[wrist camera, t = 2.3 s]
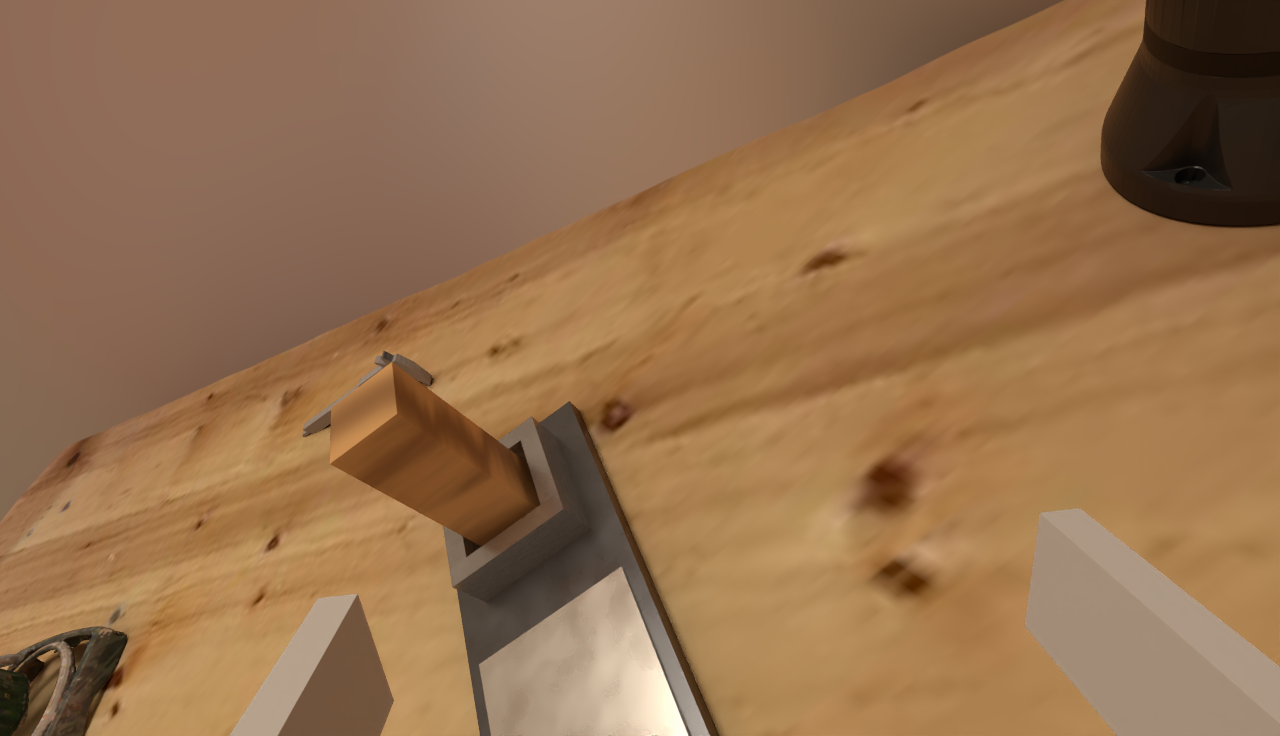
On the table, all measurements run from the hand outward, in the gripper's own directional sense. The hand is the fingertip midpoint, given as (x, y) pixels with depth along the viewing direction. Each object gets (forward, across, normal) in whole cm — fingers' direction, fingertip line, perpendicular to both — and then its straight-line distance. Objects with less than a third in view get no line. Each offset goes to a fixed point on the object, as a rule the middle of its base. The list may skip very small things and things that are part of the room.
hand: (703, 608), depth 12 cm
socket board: (+26, -8, -21) cm, 35 cm away
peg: (+32, -11, -18) cm, 38 cm away
